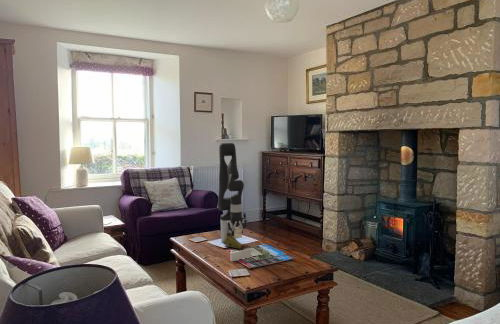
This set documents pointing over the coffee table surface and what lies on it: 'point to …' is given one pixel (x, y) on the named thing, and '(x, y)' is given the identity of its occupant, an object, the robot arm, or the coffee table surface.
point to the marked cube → (237, 232)
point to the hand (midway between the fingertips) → (237, 235)
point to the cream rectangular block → (240, 254)
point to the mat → (254, 252)
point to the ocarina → (232, 242)
